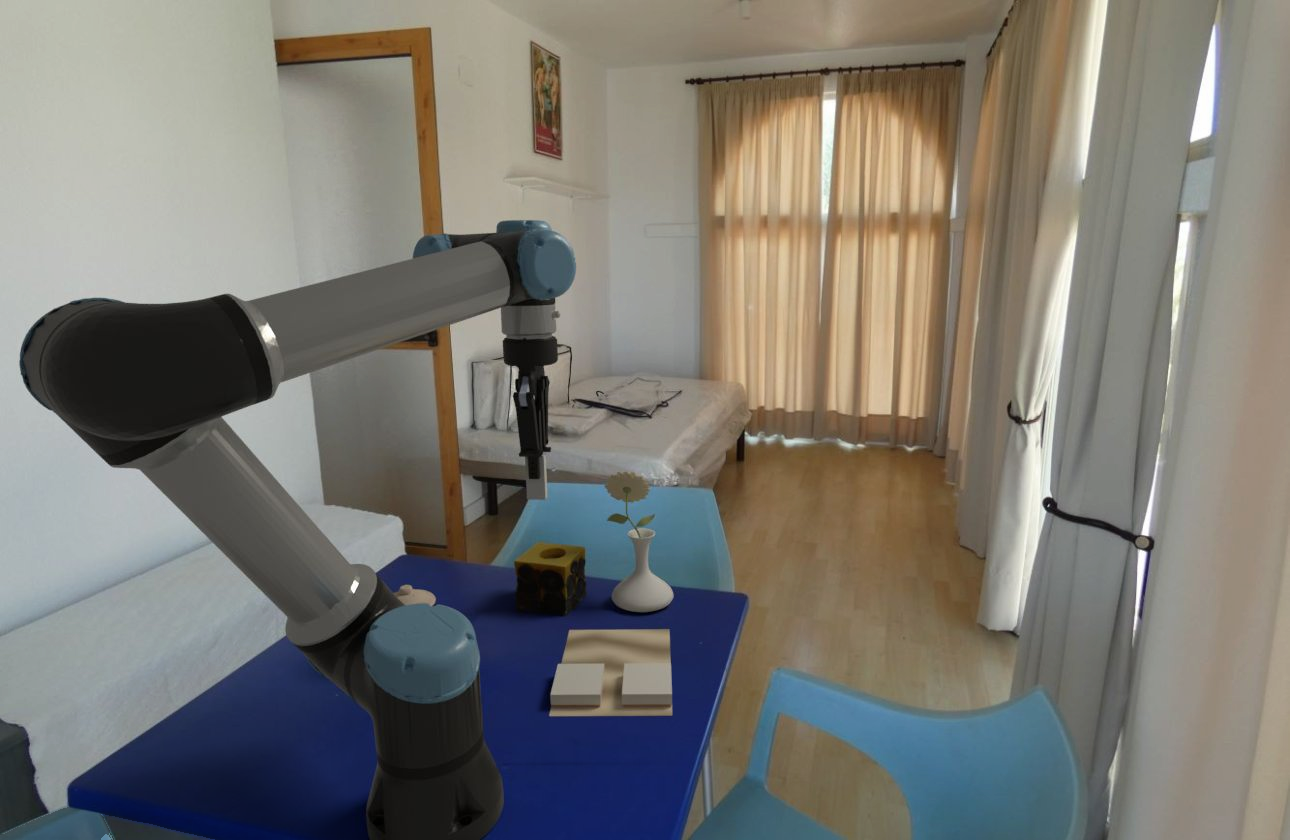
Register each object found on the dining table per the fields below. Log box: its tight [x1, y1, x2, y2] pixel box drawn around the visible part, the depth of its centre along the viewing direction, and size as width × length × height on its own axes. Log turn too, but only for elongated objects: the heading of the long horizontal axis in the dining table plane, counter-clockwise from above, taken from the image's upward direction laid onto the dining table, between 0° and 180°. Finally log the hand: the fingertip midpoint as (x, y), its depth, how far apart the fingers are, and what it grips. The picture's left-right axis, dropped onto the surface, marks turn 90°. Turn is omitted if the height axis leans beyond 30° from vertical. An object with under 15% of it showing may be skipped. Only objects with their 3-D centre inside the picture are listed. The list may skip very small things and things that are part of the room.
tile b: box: [622, 663, 673, 707], centre depth 106 cm, size 2×7×8 cm
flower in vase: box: [604, 470, 674, 613], centre depth 132 cm, size 13×11×25 cm
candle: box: [513, 541, 587, 617], centre depth 134 cm, size 10×10×10 cm
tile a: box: [549, 663, 605, 707], centre depth 106 cm, size 2×7×8 cm
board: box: [548, 628, 673, 717], centre depth 113 cm, size 24×17×1 cm
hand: (537, 497), depth 107 cm, fingers closed
